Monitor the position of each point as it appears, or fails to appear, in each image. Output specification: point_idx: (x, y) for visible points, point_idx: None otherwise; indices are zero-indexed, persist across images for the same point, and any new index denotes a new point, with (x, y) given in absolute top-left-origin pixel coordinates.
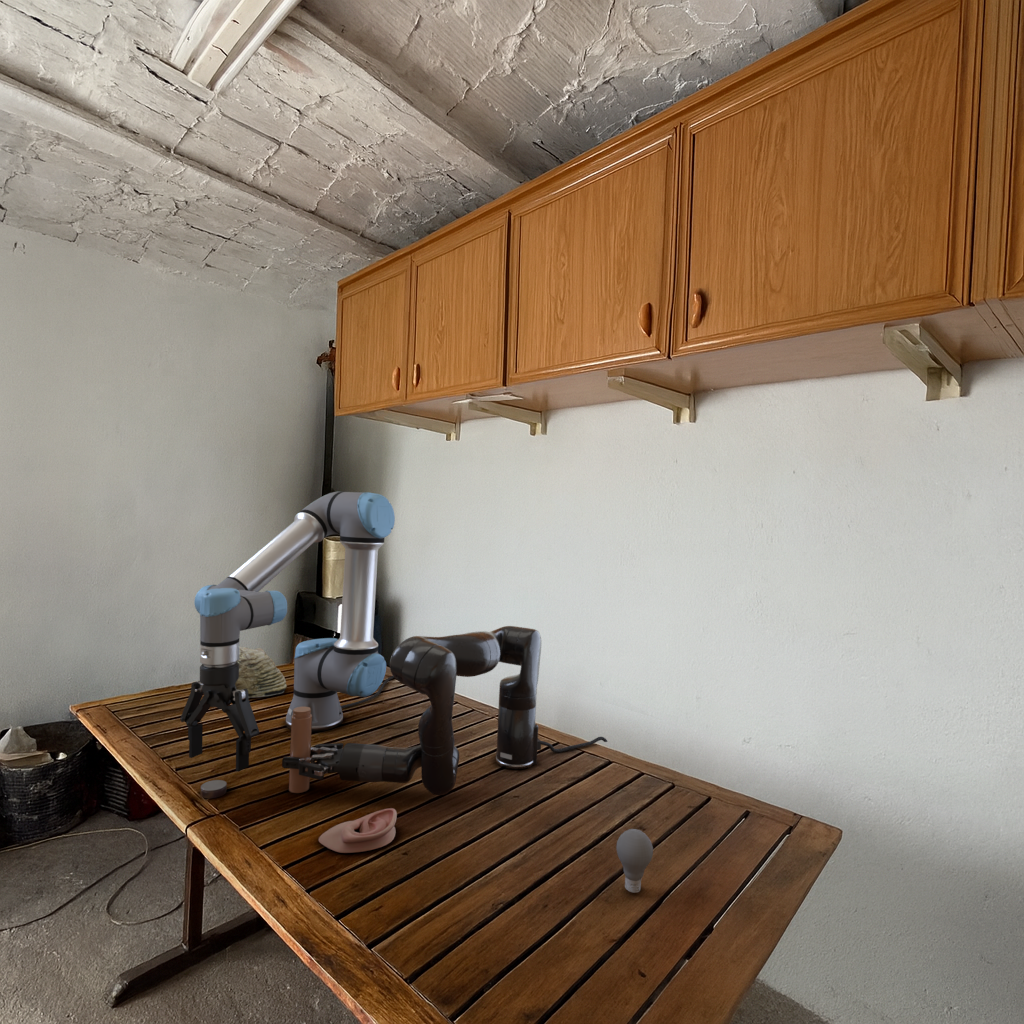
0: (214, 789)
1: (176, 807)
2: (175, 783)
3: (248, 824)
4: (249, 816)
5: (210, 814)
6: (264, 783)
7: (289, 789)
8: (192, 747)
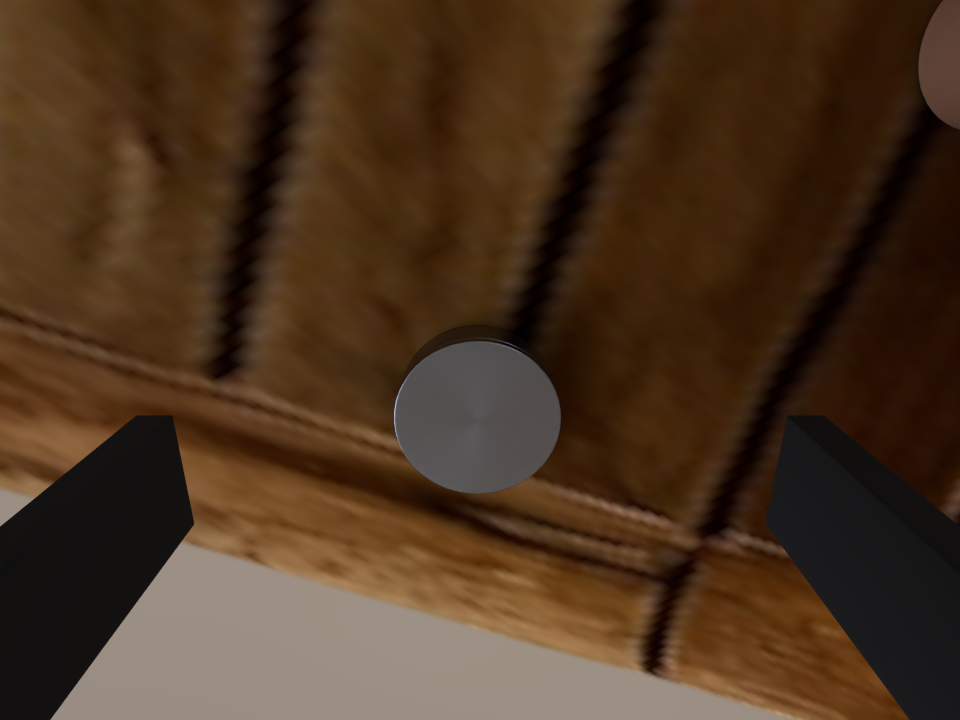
0: (535, 462)
1: (441, 594)
2: None
3: None
4: None
5: (665, 566)
6: (682, 115)
7: (953, 122)
8: (140, 589)
